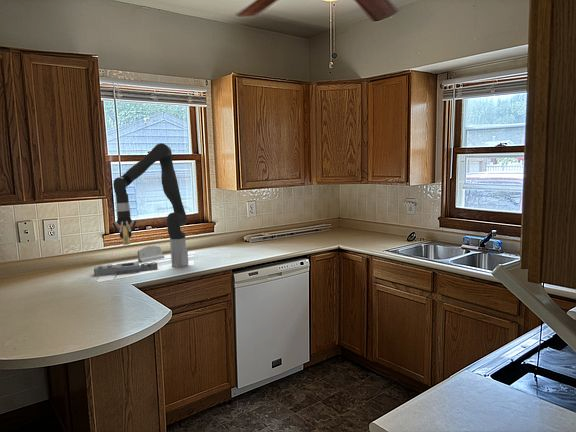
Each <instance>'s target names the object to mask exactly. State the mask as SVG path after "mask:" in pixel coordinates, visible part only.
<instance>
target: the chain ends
mask: <svg viewBox="0 0 576 432" xmlns="http://www.w3.org/2000/svg"><path fill="white" fill-rule="evenodd" d="M153 270H154V271H155V270H156V271H157V270H158V262H157V261H156V262H149V263H148V262H143V263H141V264H140V261H139V262H138V261H131V262H130V261H129V262H124V263H123V262H122V263H116V264H111V263H110V264H107V265H98V266H94V267H93V276H94V277H100V276H109V275H116V276H117V275H125V274H134V273H135V274H136V273H141V272H146V271H153Z"/></svg>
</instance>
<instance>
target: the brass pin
mask: <svg viewBox="0 0 576 432" xmlns="http://www.w3.org/2000/svg"><path fill="white" fill-rule="evenodd" d="M122 238H123V239H122V245H123V246H125V245H126V246H128V245H130V244H131V240H130V238H131V237H130V238H129V230H128V227H127V225H123V227H122Z"/></svg>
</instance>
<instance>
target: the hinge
mask: <svg viewBox="0 0 576 432" xmlns="http://www.w3.org/2000/svg"><path fill="white" fill-rule="evenodd" d="M162 259H165V255H164V253H163V251H162V248H161V246H160V245H159V246H158V245H149V246H145V247H143V248H140V249H138V250H137V260H138V261H137V262H139V263H140V262H141V263H148V262H151V261H156V260H162Z"/></svg>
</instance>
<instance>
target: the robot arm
mask: <svg viewBox="0 0 576 432" xmlns="http://www.w3.org/2000/svg"><path fill="white" fill-rule="evenodd" d="M158 161H159V164H160V168H161V169H160V170H161V172H160V173H161V179H160V180H161V185H162V189H163V193H164V195H165V197H166V198H167V199H168V201H169V202H170V204H171V205H172V210H173V212H170V213H168V215H167V217H166V227H167V233H168V235H169V245H170V260H171V267H172V268H183V267H186V266H189V254H188V252H189V250H188V249H187V242H186V233H185V232H184V231H182V230H181V227H183V226H185V225H186V224H187V221H188V219H187V213H186V210H185V208H184V204H183V202H182V201H183V200H182V197H181V192H180V187H179V182H178V178H177V175H176V171H175V168H174V162H173V153H172V149H171V147H170V146H169V145H168V144H166V143H163V142H159V143H157V144H156V145H155V146H153V148H152V149H151V150H150V151H149V152H148V153H147V154H145V156H144V157H143V158H142V159H139V161H137V162H136V163H135V164H134V165H133V166H131V167H129V169H127V171H125V173H124V174H123V175H121V176H119V177H116V178H115V179H113V182H112V183H113V190H114V194H115V201H116V210H115V211H116V217H117V218H116V219H117V220H116V221H114V222H113V223H112V226H113V227H114V230H115V232H116V233H119V238H120V239H122V240H123V238H122V227H123V225H127V227H128V230H129V238H131V237H132V232H133V231H135V228H136V223H137V220H133V219H132V218H131V207H130V201H129V194H128V193H127V187H129V186H130V184H132V183H133V182H134V181H135V180H137V179H138V178H139V177H141V176H142V175H143V174H144V173H145V172H146V171H148V169H149V168H150V167H151V166H152V165H153V164H155V163H156V162H158ZM117 224H118V225H119V228H118V227H117ZM130 224H132V228H131V226H130Z"/></svg>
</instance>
